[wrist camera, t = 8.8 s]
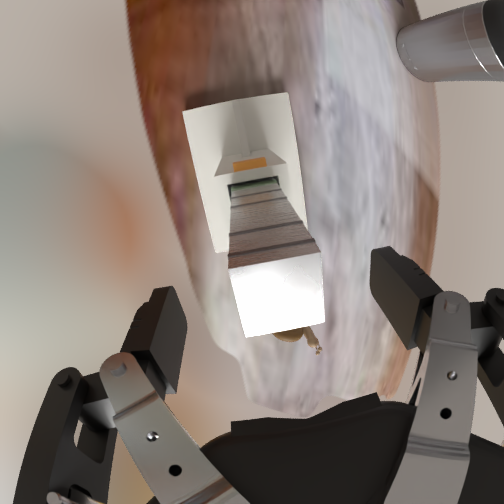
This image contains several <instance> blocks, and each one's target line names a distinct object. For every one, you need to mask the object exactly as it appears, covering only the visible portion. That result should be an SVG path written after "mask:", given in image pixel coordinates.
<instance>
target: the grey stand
mask: <svg viewBox="0 0 504 504" xmlns="http://www.w3.org/2000/svg"><path fill="white" fill-rule="evenodd" d="M183 117H184V122H185V126H186V131H187V136H188V140H189V145H190V149H191V154H192V158H193V162H194V167H195V171H196V176H197V180H198V184H199V188H200V192H201V197H202V201H203V205H204V209H205V213H206V217H207V221H208V225H209V229H210V233H211V237H212V241H213V245H214V248H215V252H216V253H219V252H225V251H229V233H230V214H231V210H230V207H231V194H232V193H231V187H232V184H234V183H239V182H244V181H249V180H255V179H260V178H266V177H273V178H274V179H275V180H276V181H277V184H278V185H279V187H280V188H281V189H282V191H283V193H284V194H285V196H287V199H288V201H289V202H290V204H291V205H292V207H293V208H294V210H295V211H296V213H297V214H298V216H299V218H300V219H301V220H302V221H303V224H304V225H305V227H306V229H307V219H306V210H305V202H304V193H303V186H302V178H301V170H300V163H299V156H298V149H297V143H296V136H295V130H294V124H293V118H292V112H291V106H290V101H289V95H288V92H286V93H278V94H270V95H263V96H256V97H250V98H244V99H235V100H231V101H227V102H222V103H217V104H213V105H208V106H204V107H199V108H195V109H191V110H187V111H183ZM307 230H308V229H307Z"/></svg>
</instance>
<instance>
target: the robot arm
mask: <svg viewBox="0 0 504 504" xmlns="http://www.w3.org/2000/svg"><path fill="white" fill-rule="evenodd" d="M397 49H398V53H399V55H400V58H401V60H402V62H403V63H404V65H405V66H406V68H407V69H408V70H409V71H410V72H411V73H412V74H413V75H414V76H415V77H417V78H418V79H420V80H422V81H426V82H441V81H504V0H488V1H483V2H479V3H475V4H471V5H468V6H464V7H460V8H457V9H454V10H450V11H447V12H444V13H441V14H438V15H435V16H433V17H429V18H427V19H424V20H421V21H418V22H416V23H413V24H411V25H408V26H406V27H404V28H402V29H401V30H400V32H399V34H398V36H397ZM370 289H371V293H372V295H373V297H374V299H375V300H376V302H377V303H378V305H379V306H380V308H381V309H382V311H383V312H384V314H385V315H386V317H387V318H388V320H389V322H390V323H391V325H392V326H393V328H394V329H395V331H396V333H397V334H398V336H399V337H400V339H401V341H402V342H403V344H404V346H405V347H406V349H407V350H409V349H412V348H415V347H418V348H419V349H420V352H419V355H418V359H417V363H416V367H415V372H414V375H413V379H412V383H411V387H410V391H409V394H408V397H407V400H406V403H402V402H396V401H380V399H379V397H378V394H377V392H376V393H372V394H369V395H366V396H363V397H359V398H356V399H352V400H349V401H345V402H342V403H340V404H338V405H336V406H334V407H332V408H330V409H328V410H326V411H324V412H322V413H319V414H317V415H315V416H313V417H310V418H307V419H289V418H270V417H267V418H259V419H251V420H243V421H232V422H231V432H228V433H225V434H223V435H220V436H218V437H216V438H215V439H213V440H211V441H209V442H208V443H206V444H205V445H204V446H203V447H201V448H200V447H199V446H198V444H197V443H196V442H195V441H194V440H193V438H192V437H191V436H190V435H189V434H188V432H187V431H186V430H185V429H184V427H183V426H182V425H181V424H180V422H179V421H178V419H177V418H176V417H175V415H174V414H173V413H172V411H171V410H170V409H169V407H168V406H167V404H166V403H165V402H164V400H165V394H176V392H177V386H178V379H179V373H180V368H181V362H182V356H183V350H184V345H185V339H186V334H187V321H186V317H185V314H184V311H183V309H182V307H181V304H180V301H179V299H178V296H177V293H176V291H175V289H174V287H173V286H168V287H162V288H156V289H154V290H153V292H152V295H151V297H150V300H149V302H145V303H144V304H143V305H142V306H141V307H140V308H139V309H138V310H137V312H136V314H135V316H134V319H133V322H132V323H131V326H130V329H129V331H128V333H127V336H126V338H125V341H124V343H123V345H122V348H121V350H120V353H117V354H114V355H112V356H110V357H109V358H107V359H106V360H105V361H104V363H103V364H102V365H101V367H100V371H99V372H97V373H94V374H90V375H87V376H82V375H81V373H80V372H79V371H78V370H77V369H76V368H73V367H68V368H65V369H63V370H61V371H60V372H58V373H57V374H56V375H55V376H54V378H53V379H52V381H51V384H50V386H49V388H48V391H47V393H46V396H45V398H44V401H43V403H42V406H41V408H40V411H39V414H38V416H37V419H36V422H35V424H34V427H33V430H32V433H31V436H30V439H29V442H28V445H27V449H26V452H25V455H24V459H23V463H22V466H21V470H20V474H19V478H18V482H17V486H16V491H15V496H14V501H13V504H107V500H108V490H109V481H110V475H111V468H112V461H113V454H114V449H115V442H116V437H117V431H118V432H119V434H120V436H121V438H122V440H123V442H124V444H125V446H126V448H127V449H128V452H129V453H130V455H131V457H132V459H133V461H134V462H135V464H136V466H137V468H138V469H139V471H140V473H141V474H142V476H143V478H144V479H145V481H146V483H147V484H148V486H149V487H150V489H151V490H152V492H153V493H154V495H155V496H154V497H153V498H152V499H151V500H150V501H149V502H148V503H147V504H504V440H503V442H502V444H501V446H500V445H498V444H495V443H493V442H490V441H488V440H486V439H484V438H481V437H479V436H476V435H474V434H472V433H471V426H472V420H473V413H474V404H475V395H476V383H477V377H478V378H479V380H480V382H481V384H482V385H483V387H484V389H485V391H486V393H487V394H488V396H489V398H490V400H491V402H492V404H493V406H494V408H495V410H496V412H497V414H498V416H499V418H500V420H501V422H502V424H503V426H504V354H503V353H502V351H501V350H500V348H499V347H498V346H499V344H500V342H501V340H502V338H503V339H504V289H500V288H492V289H490V290H488V292H487V293H486V296H485V299H484V301H482V302H470V303H469V301H468V300H467V299H466V298H465V297H464V296H463V295H461V294H459V293H457V292H453V291H443V290H442V289H441V288H440V287H439V286H438V285H437V284H436V283H435V282H434V281H433V280H432V279H431V278H430V277H429V276H428V275H427V274H425V272H424V271H423V270H422V269H420V267H419V266H418V265H417V264H416V263H415V262H414V261H413V260H411V259H409V258H407V257H405V256H403V255H402V256H400V255H399V254H398V253H397V252H396V251H395V250H394V249H393V248H392V247H390V246H387V247H382V248H377V249H373V250H372V252H371V265H370ZM78 420H80V421H81V422H82V423H83V425H82V429H81V432H80V436H79V440H78V444H77V447H76V446H75V443H74V433H75V430H76V426H77V423H78Z"/></svg>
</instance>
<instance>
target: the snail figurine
mask: <svg viewBox="0 0 504 504" xmlns="http://www.w3.org/2000/svg"><path fill="white" fill-rule="evenodd" d="M272 334H273V335H274V336H275V337H277V338H278V339H280V340H282V341H286V342H295V341H297V340H299V339H300V338H301V337H302V335H303V334H304V336H305V337H306V339H307V343H308V345H309V346H310V347H316V346H318V345H319V341H318V339H317V338H316V337H315V335H314V333H313V331H312V330H311V328H310V327H309V325H308V326H303V327H299V328H294V329H289V330H283V331H278V332H273V333H272ZM316 349H317V348H316ZM320 351H322V348H321V347H320V346H319V348H318V350H317V351H316V355H319V354H320Z"/></svg>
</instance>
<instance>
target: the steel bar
mask: <svg viewBox="0 0 504 504" xmlns="http://www.w3.org/2000/svg"><path fill="white" fill-rule="evenodd" d="M231 193H232V194H231V207H230V210H231V214H230V233H229V254H228V260H229V261H228V271H229V274H230V278H231V282H232V286H233V290H234V294H235V298H236V302H237V305H238V309H239V313H240V317H241V321H242V324H243V328H244V332H245V335H246V337H249V336H255V335H261V334H267V333H273V332H278V331H283V330H289V329H294V328H299V327H303V326H308V325H313V324H318V323H322V322H324V298H323V277H322V260H321V251H320V250H319V248H318V246H317V245H316V243H315V239H314V238H312V237H311V235H310V233H309V232H308V230H307V229H306V227H305V225H304V224H303V221H302V220H301V219H300V218H299V216H298V214H297V213H296V211H295V210H294V208H293V207H292V205H291V204H290V202H289V201H288V199H287V196H285V194H284V193H283V191H282V189H281V188H280V187H279V185H278V184H277V181H276V180H275V179H274V178H273V177H266V178H260V179H255V180H249V181H244V182H239V183H234V184H232V187H231Z"/></svg>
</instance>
